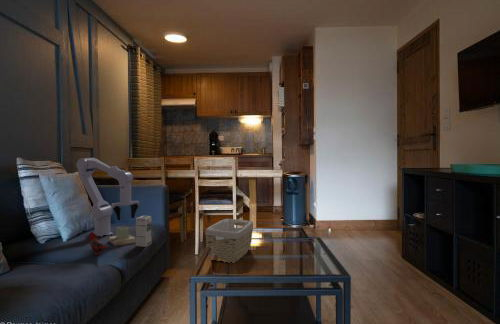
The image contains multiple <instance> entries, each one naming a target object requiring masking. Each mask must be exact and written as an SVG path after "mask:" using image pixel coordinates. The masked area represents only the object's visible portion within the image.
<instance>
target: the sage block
mask: <svg viewBox="0 0 500 324" xmlns="http://www.w3.org/2000/svg"><path fill="white" fill-rule="evenodd" d="M115 231H116V234H115V236H116V237H117V238H118V239H119V240H120V239H125V238H129V235H130V228H129V227H128V226H127V225H126V226H125V225H124V226H118V227H116V230H115Z"/></svg>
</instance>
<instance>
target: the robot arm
mask: <svg viewBox="0 0 500 324" xmlns="http://www.w3.org/2000/svg"><path fill="white" fill-rule="evenodd" d="M75 167H76V168H77V171H78V174H79V175H78V176H79V178H80V180H81V182H82V184H83V186H84V188H85V190H86V192H87V194H88V196H89V198H90V201H91V203H92V204H93V205H92V207H91V211H92V216H93V217H94V219H95V220H94V231H93V233H94V234H95V235H96V237H98V236H100V237H104V236H103V235H106V236H111V234H112V235H114V233H113V232H112V231H111V218H112V215H113V213H115V215H116V219H117V220H118V221H121V209H122V208H120V207H126V206H128V207H129V206H130V214H131V215H130V216H131V219H134V218H135V215H136V212H137V211H138V210H137V209H138V208H139V205H140V200H132V181H134V175H133V173H132V172H130V171H125V169H120V168H119V167H118V166H117V165H115V166H109V165H108V164H107V163H105V162H103V161H101V160H99V159H98V158H96V157H87V158H83V157H82V158H79V159H77V162H76V165H75ZM96 169H98V170H101V171H103V172H105V173H107V175H108V176H109V177H111V178H114V179H115V180H117V181H118V183H119V202H114V203H113V202H112V203H111V205H110V204H109V202H108V201H106V200H105V199H104V198H103V197H102V194H101V193H100V192H101V191H99V189H98V187H97V185H96V183H95V181H94V179H93V176H92V174H94V172H95V170H96Z"/></svg>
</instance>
